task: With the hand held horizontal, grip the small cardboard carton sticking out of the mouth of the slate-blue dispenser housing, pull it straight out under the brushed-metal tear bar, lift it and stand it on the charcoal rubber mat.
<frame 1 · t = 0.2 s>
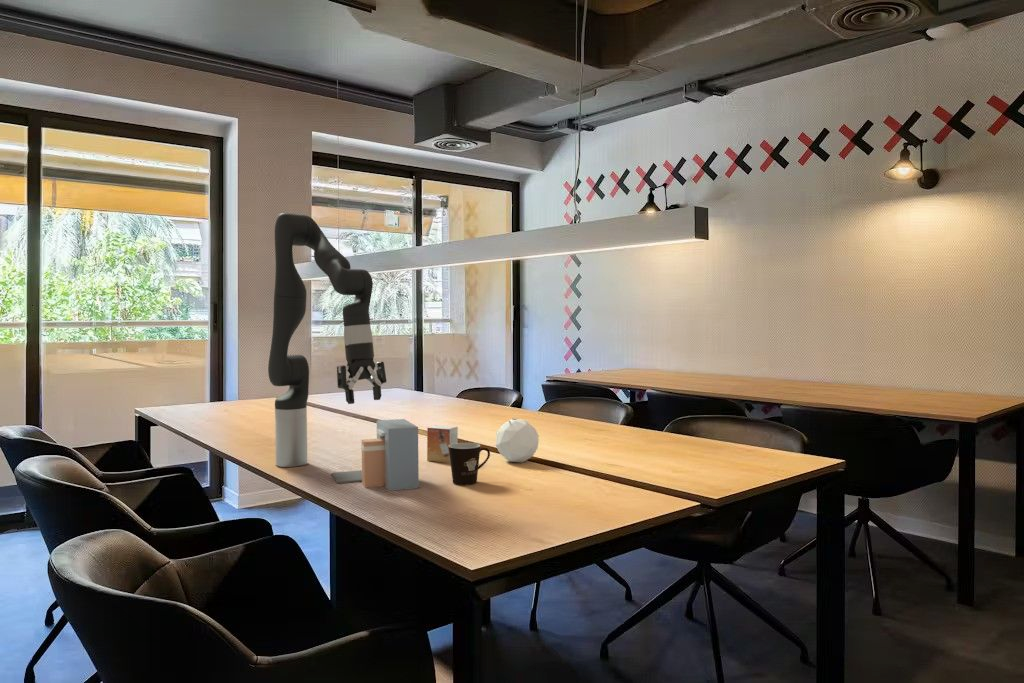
hand: (364, 401, 197), 22 cm above the table, tool pointing down, fingers open, 8 cm apart
small cardboard carton: (374, 484, 193), on the table
mat: (354, 477, 202), on the table
small box: (442, 461, 225), on the table
dispenser: (395, 482, 195), on the table
coffee mug: (470, 483, 196), on the table
geodesic sphere: (517, 461, 223), on the table
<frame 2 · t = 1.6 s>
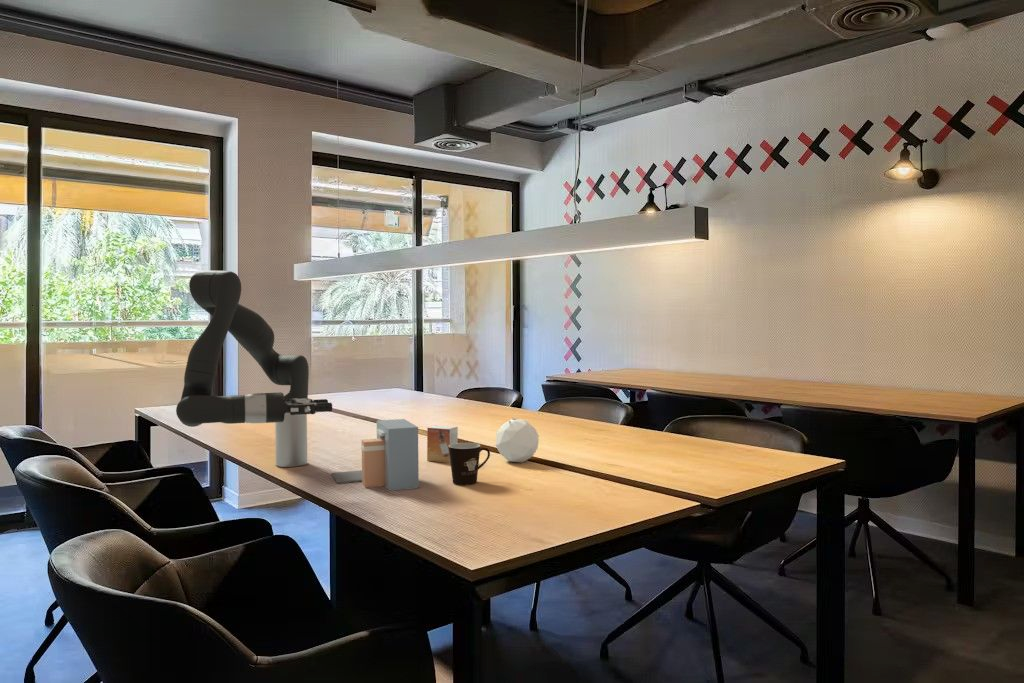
hand: (329, 405, 188), 22 cm above the table, tool horizontal, fingers open, 8 cm apart
nothing on the table moved.
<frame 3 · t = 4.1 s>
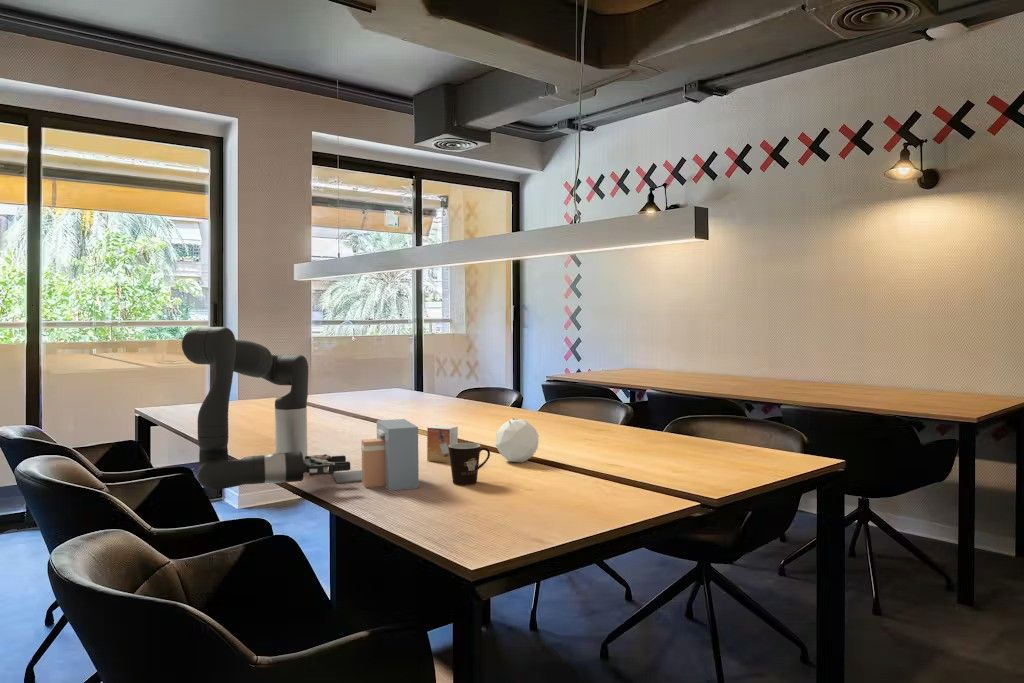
hand: (347, 462, 190), 7 cm above the table, tool horizontal, fingers open, 8 cm apart
nothing on the table moved.
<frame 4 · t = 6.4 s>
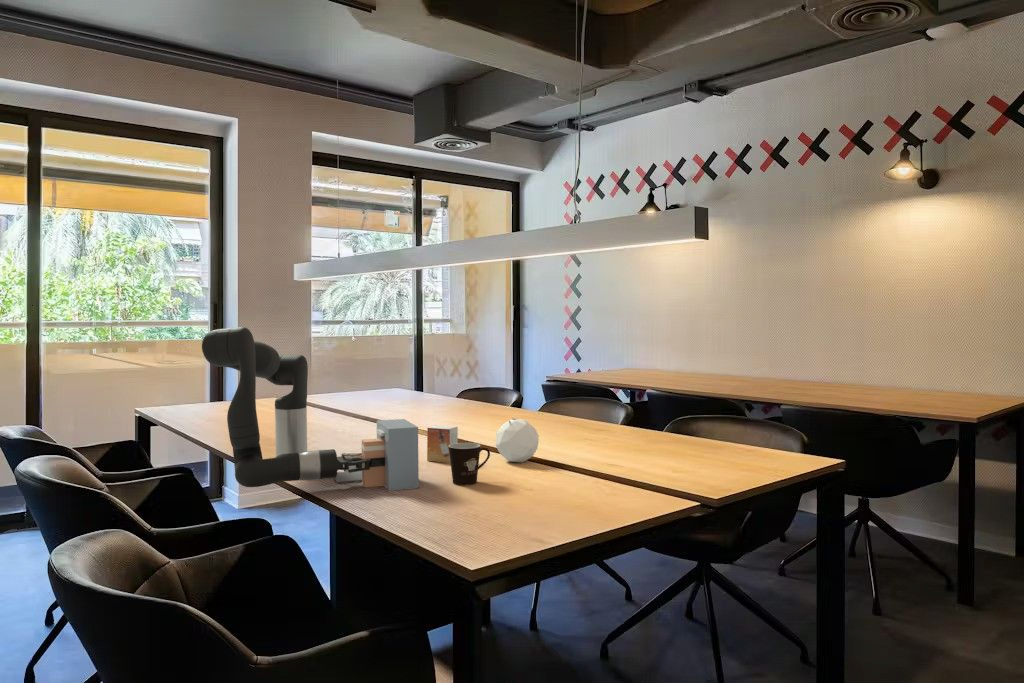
hand: (382, 459, 194), 7 cm above the table, tool horizontal, fingers closed on small cardboard carton, 4 cm apart
small cardboard carton: (374, 484, 193), on the table, touching gripper
everything else where it was.
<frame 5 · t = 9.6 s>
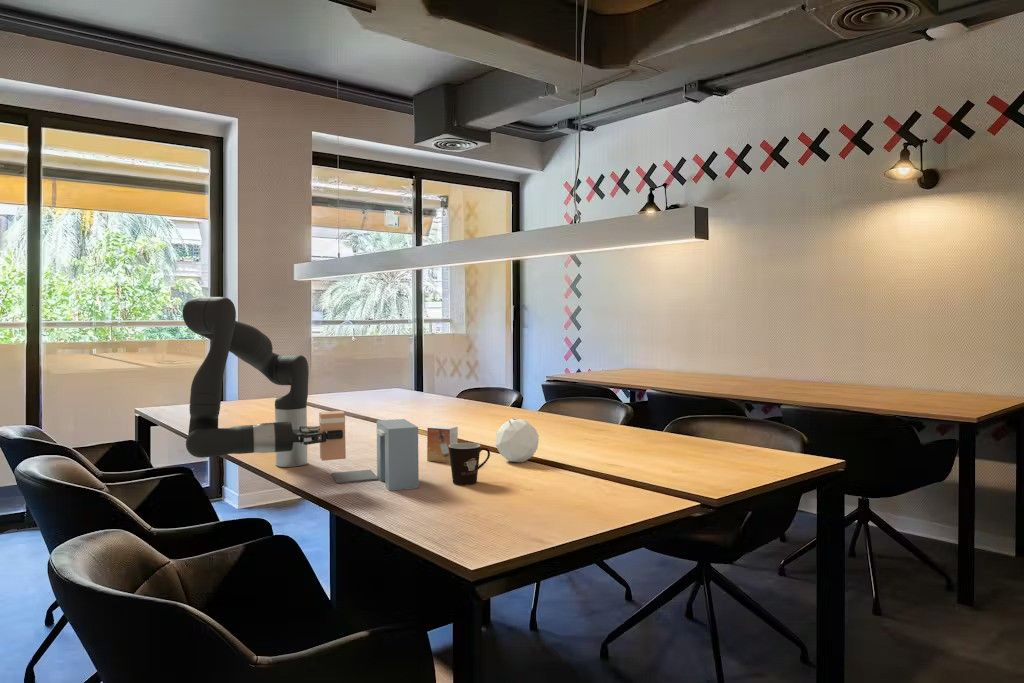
hand: (341, 432, 190), 15 cm above the table, tool horizontal, fingers closed on small cardboard carton, 4 cm apart
small cardboard carton: (332, 458, 189), point 8 cm above the table, touching gripper
everything else where it was.
when the fingers open (8 cm above the table, at t = 13.0 s): small cardboard carton drops 1 cm, resting on mat.
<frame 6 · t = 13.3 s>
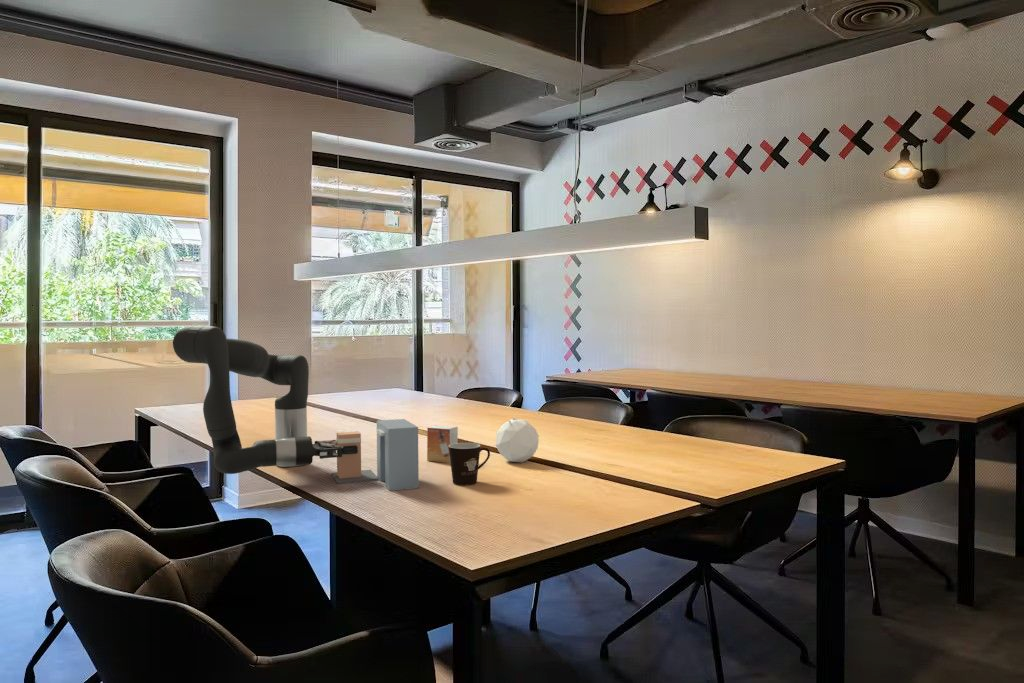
hand: (355, 446, 202), 8 cm above the table, tool horizontal, fingers open, 7 cm apart
small cardboard carton: (349, 476, 202), resting on mat
everything else where it was.
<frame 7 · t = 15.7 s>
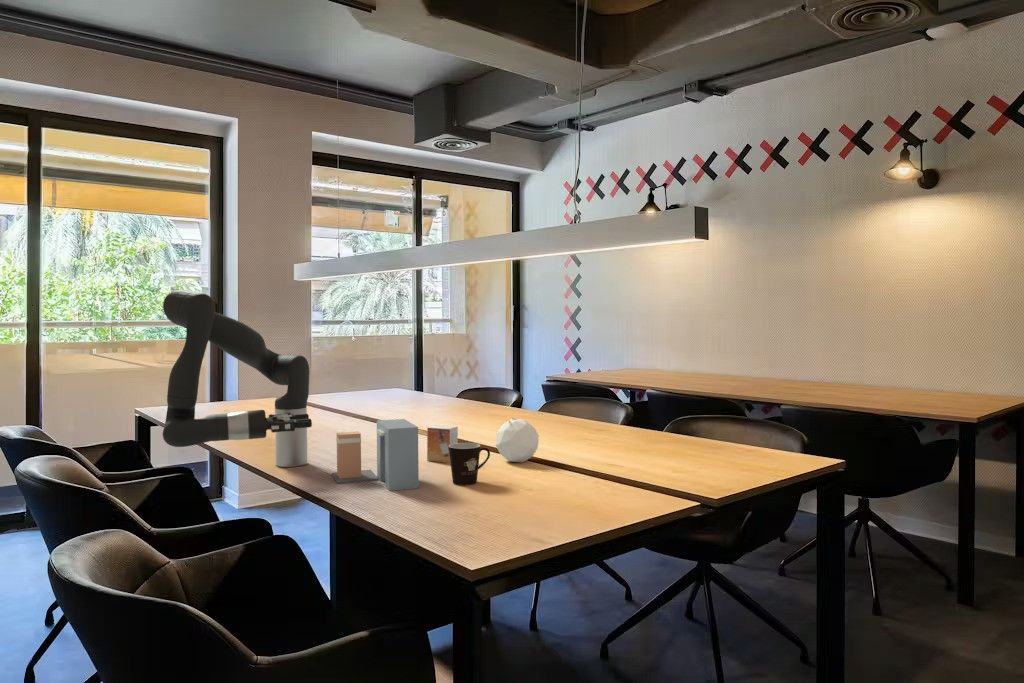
hand: (310, 420, 198), 17 cm above the table, tool horizontal, fingers open, 8 cm apart
nothing on the table moved.
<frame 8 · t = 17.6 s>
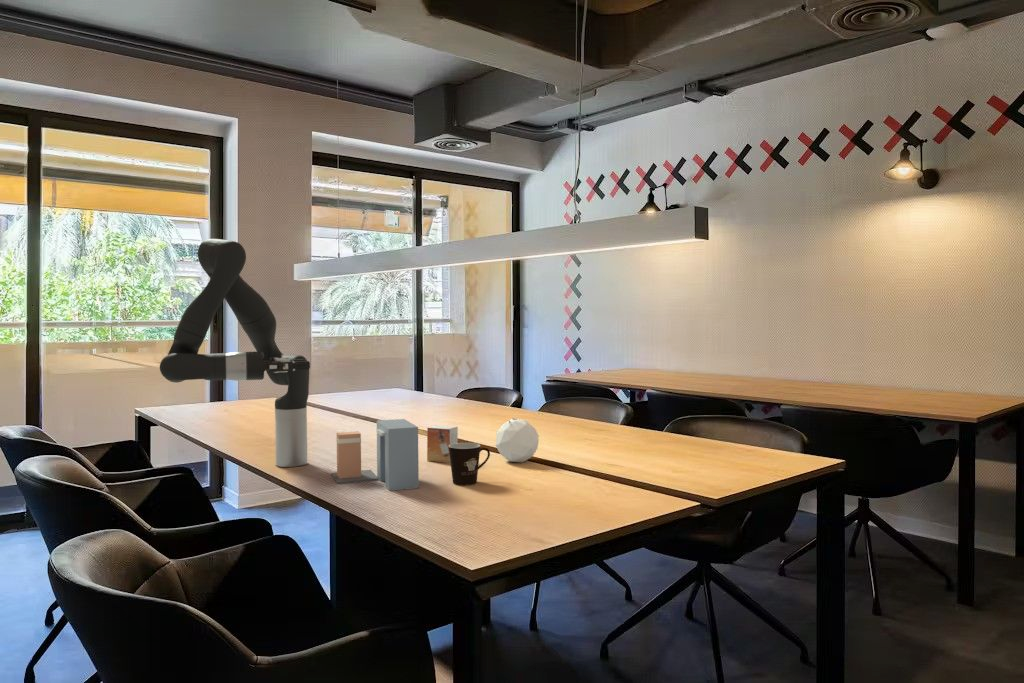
hand: (308, 364, 197), 32 cm above the table, tool horizontal, fingers open, 8 cm apart
nothing on the table moved.
at the end: small cardboard carton inside the target area on the mat (1.6 cm from its centre), point 0.5 cm above the mat's base; small cardboard carton tilted 0°; the gripper is holding nothing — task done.
